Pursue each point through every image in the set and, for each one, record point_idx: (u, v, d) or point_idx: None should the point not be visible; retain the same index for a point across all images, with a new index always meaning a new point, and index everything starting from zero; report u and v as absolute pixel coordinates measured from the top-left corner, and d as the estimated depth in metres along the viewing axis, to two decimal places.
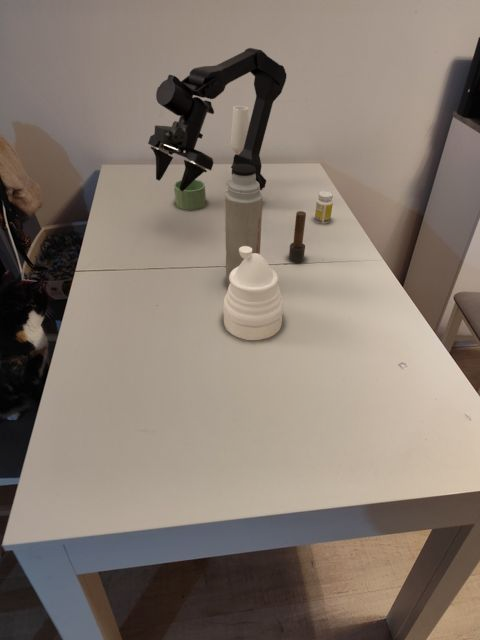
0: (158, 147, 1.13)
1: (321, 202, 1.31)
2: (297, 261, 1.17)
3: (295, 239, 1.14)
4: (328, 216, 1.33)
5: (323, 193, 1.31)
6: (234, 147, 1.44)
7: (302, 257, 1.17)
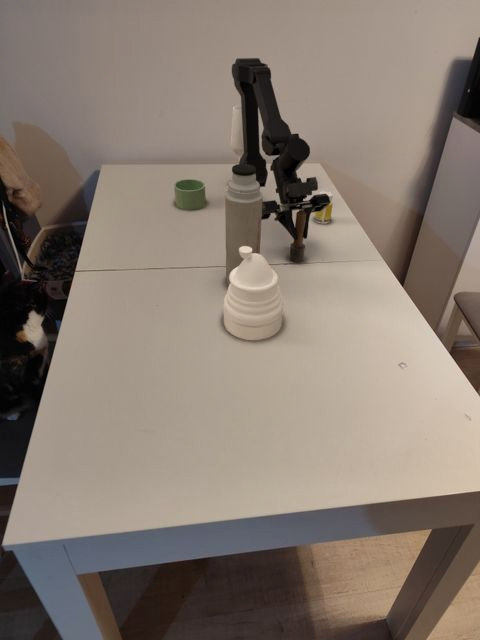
0: (287, 209, 1.11)
1: None
2: (297, 261, 1.17)
3: None
4: (328, 216, 1.33)
5: (323, 193, 1.31)
6: (234, 147, 1.43)
7: (302, 257, 1.17)
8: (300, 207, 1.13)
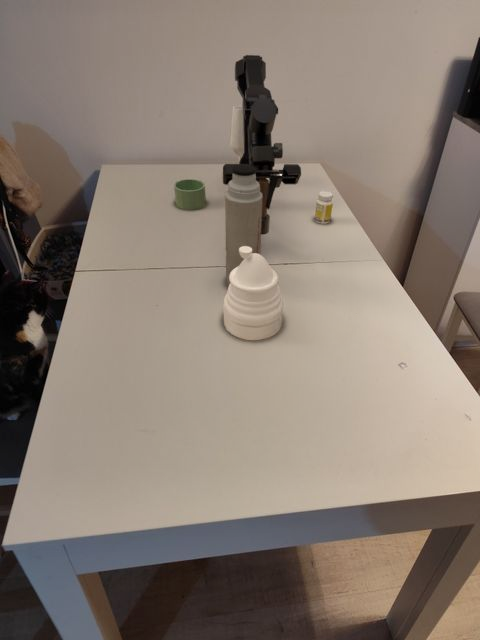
0: None
1: (321, 202, 1.31)
2: None
3: None
4: (328, 216, 1.33)
5: (323, 193, 1.31)
6: (234, 147, 1.44)
7: (265, 229, 1.11)
8: (268, 175, 1.08)
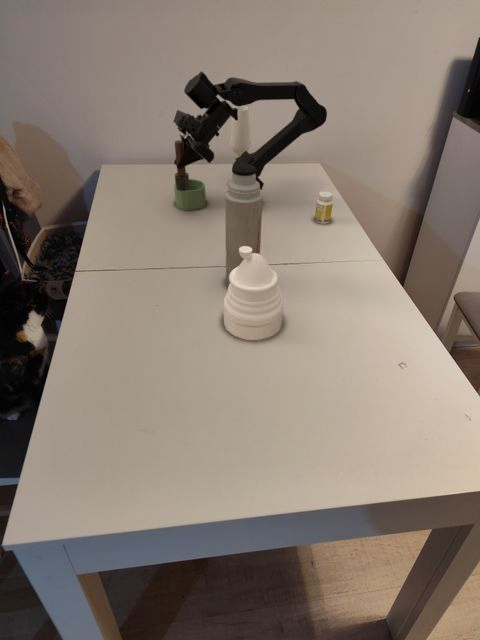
0: (185, 136, 1.24)
1: (321, 202, 1.31)
2: None
3: None
4: (328, 216, 1.33)
5: (323, 193, 1.31)
6: (234, 147, 1.43)
7: (177, 185, 1.29)
8: None
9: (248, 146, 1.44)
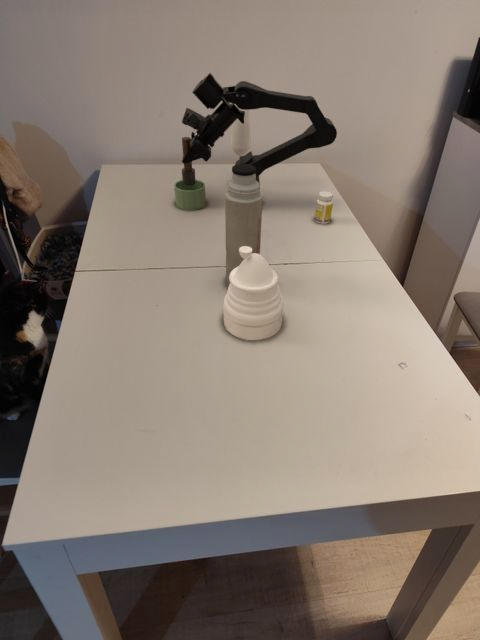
0: (195, 134, 1.30)
1: (321, 202, 1.31)
2: None
3: None
4: (328, 216, 1.33)
5: (323, 193, 1.31)
6: (234, 147, 1.43)
7: (182, 179, 1.35)
8: None
9: (248, 146, 1.44)
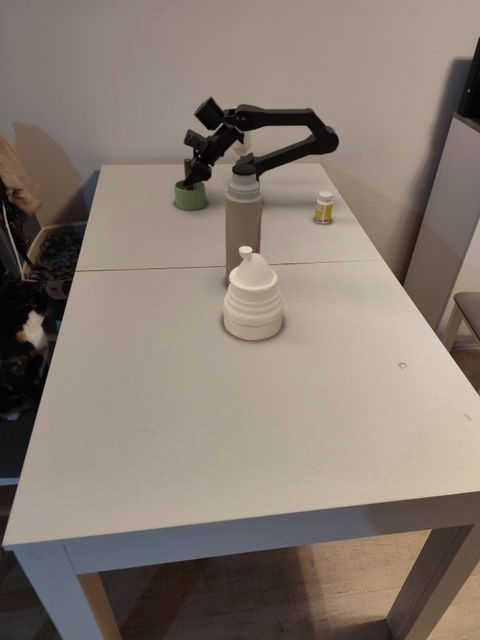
0: (196, 150, 1.36)
1: (321, 202, 1.31)
2: None
3: None
4: (328, 216, 1.33)
5: (323, 193, 1.31)
6: (235, 147, 1.44)
7: None
8: None
9: (249, 146, 1.44)
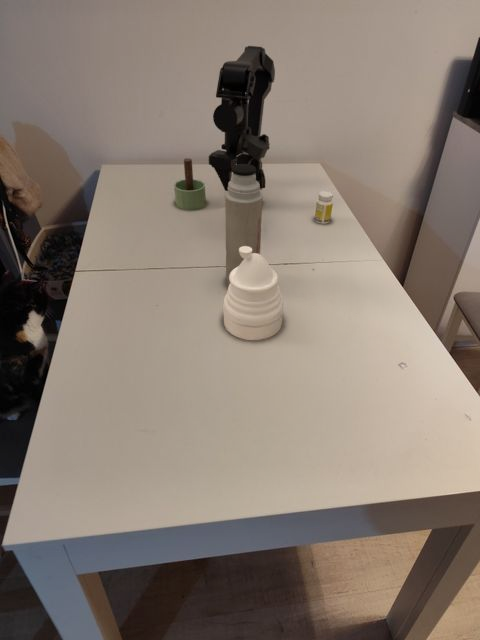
0: None
1: (321, 202, 1.31)
2: None
3: None
4: (328, 216, 1.33)
5: (323, 193, 1.31)
6: None
7: None
8: (245, 150, 1.19)
9: None
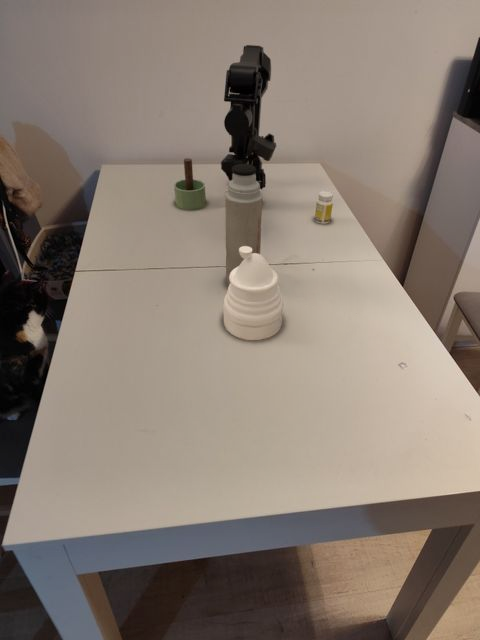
0: None
1: (321, 202, 1.31)
2: None
3: None
4: (328, 216, 1.33)
5: (323, 193, 1.31)
6: None
7: None
8: None
9: None
